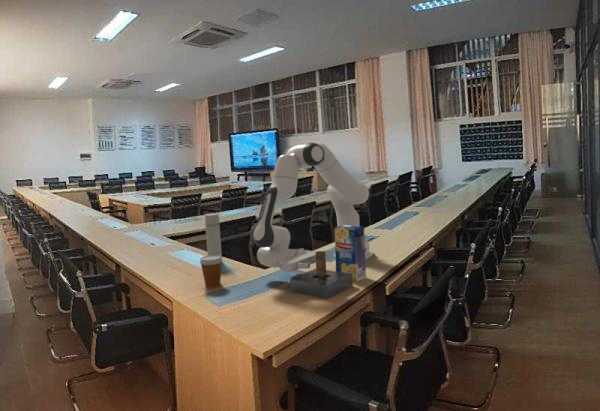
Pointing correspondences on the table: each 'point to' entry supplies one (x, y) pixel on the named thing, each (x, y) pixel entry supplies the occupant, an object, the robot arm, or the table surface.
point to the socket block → (321, 283)
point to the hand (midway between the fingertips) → (315, 263)
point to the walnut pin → (320, 264)
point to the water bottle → (213, 234)
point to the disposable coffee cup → (211, 270)
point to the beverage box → (350, 251)
